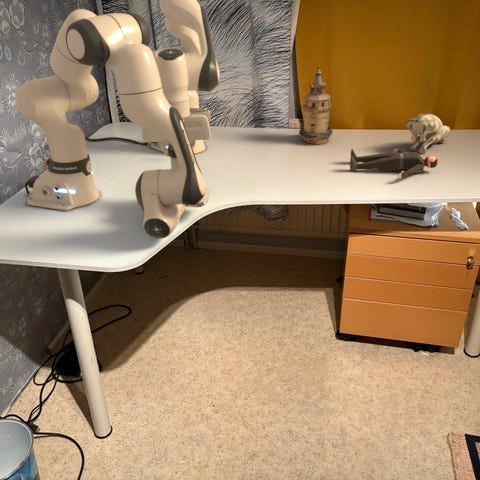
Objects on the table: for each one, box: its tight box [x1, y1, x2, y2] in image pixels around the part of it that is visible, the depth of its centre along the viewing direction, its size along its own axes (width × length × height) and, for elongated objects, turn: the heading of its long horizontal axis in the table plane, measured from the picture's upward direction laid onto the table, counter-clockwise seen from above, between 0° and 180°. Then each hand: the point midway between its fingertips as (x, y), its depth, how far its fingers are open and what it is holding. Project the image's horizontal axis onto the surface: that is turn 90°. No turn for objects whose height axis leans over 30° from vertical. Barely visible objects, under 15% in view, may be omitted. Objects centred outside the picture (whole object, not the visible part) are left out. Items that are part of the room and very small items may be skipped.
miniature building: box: [298, 65, 333, 145], centre depth 213 cm, size 13×14×30 cm
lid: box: [168, 145, 177, 158], centre depth 162 cm, size 6×6×2 cm
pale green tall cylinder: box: [169, 156, 180, 169], centre depth 166 cm, size 5×5×18 cm
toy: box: [349, 148, 439, 180], centre depth 190 cm, size 26×6×30 cm
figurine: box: [406, 113, 451, 154], centre depth 207 cm, size 10×19×20 cm
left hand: (180, 184), depth 168 cm, fingers closed on pale green tall cylinder, 5 cm apart
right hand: (178, 154), depth 162 cm, fingers closed on lid, 6 cm apart
